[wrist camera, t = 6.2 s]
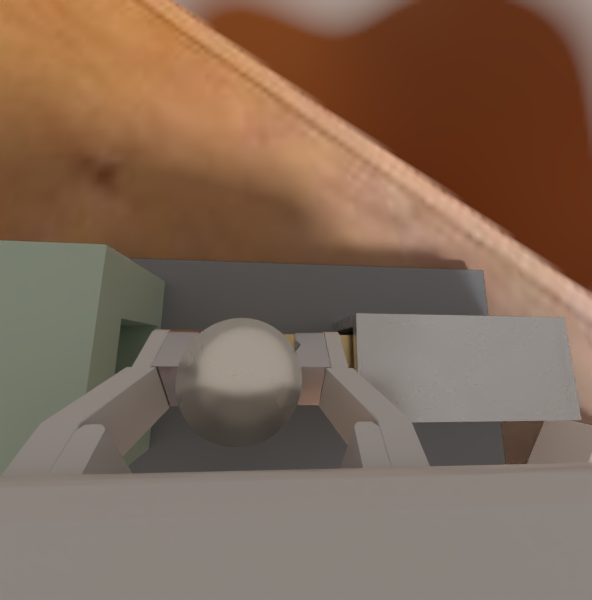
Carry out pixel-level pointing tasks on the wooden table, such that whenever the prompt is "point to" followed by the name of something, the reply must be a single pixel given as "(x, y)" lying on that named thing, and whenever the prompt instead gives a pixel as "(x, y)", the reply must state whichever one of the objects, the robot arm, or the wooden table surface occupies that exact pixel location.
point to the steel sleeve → (467, 365)
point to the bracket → (562, 443)
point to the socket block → (67, 330)
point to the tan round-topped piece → (241, 381)
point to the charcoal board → (307, 318)
